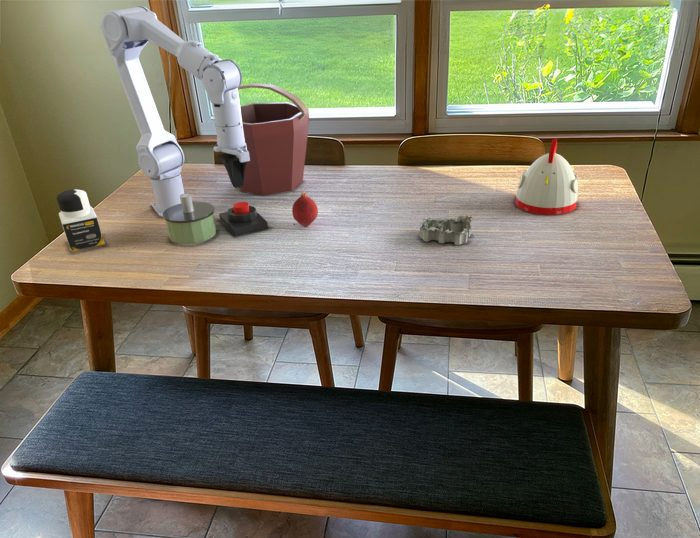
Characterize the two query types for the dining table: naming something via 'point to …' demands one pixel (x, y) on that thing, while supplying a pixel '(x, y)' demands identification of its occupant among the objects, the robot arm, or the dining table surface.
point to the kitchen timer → (548, 185)
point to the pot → (192, 231)
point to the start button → (241, 208)
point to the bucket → (274, 143)
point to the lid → (188, 211)
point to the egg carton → (446, 229)
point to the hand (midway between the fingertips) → (238, 186)
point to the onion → (304, 210)
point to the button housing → (243, 221)
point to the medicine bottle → (79, 220)
